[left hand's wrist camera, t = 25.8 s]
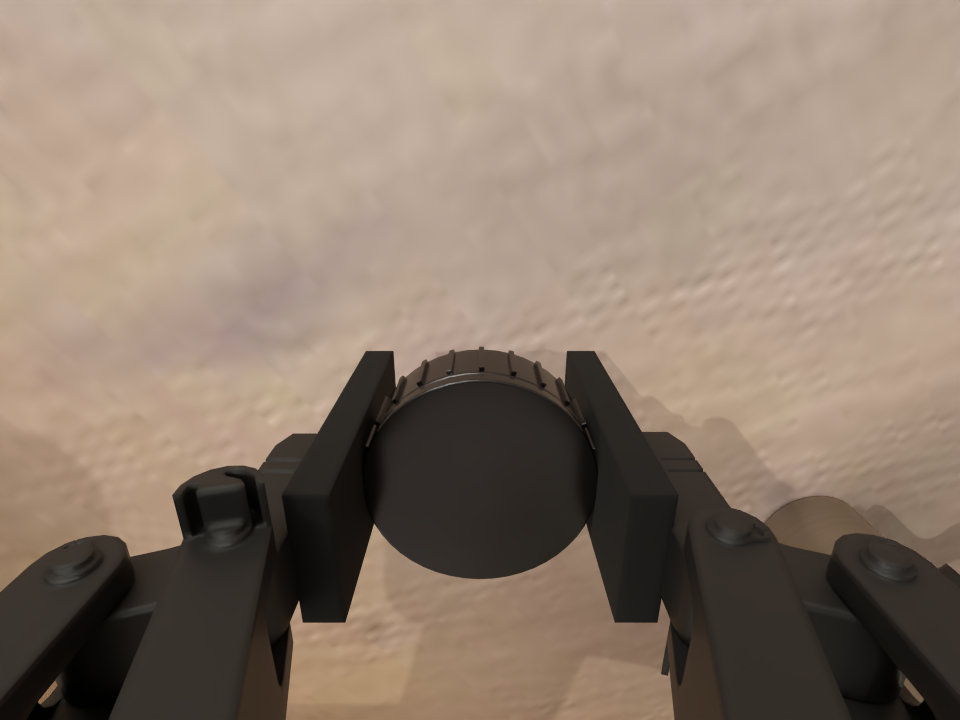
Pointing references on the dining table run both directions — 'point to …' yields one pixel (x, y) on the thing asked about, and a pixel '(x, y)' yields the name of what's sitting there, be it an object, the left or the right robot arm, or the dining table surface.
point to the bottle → (821, 530)
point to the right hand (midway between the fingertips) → (888, 642)
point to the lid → (480, 465)
